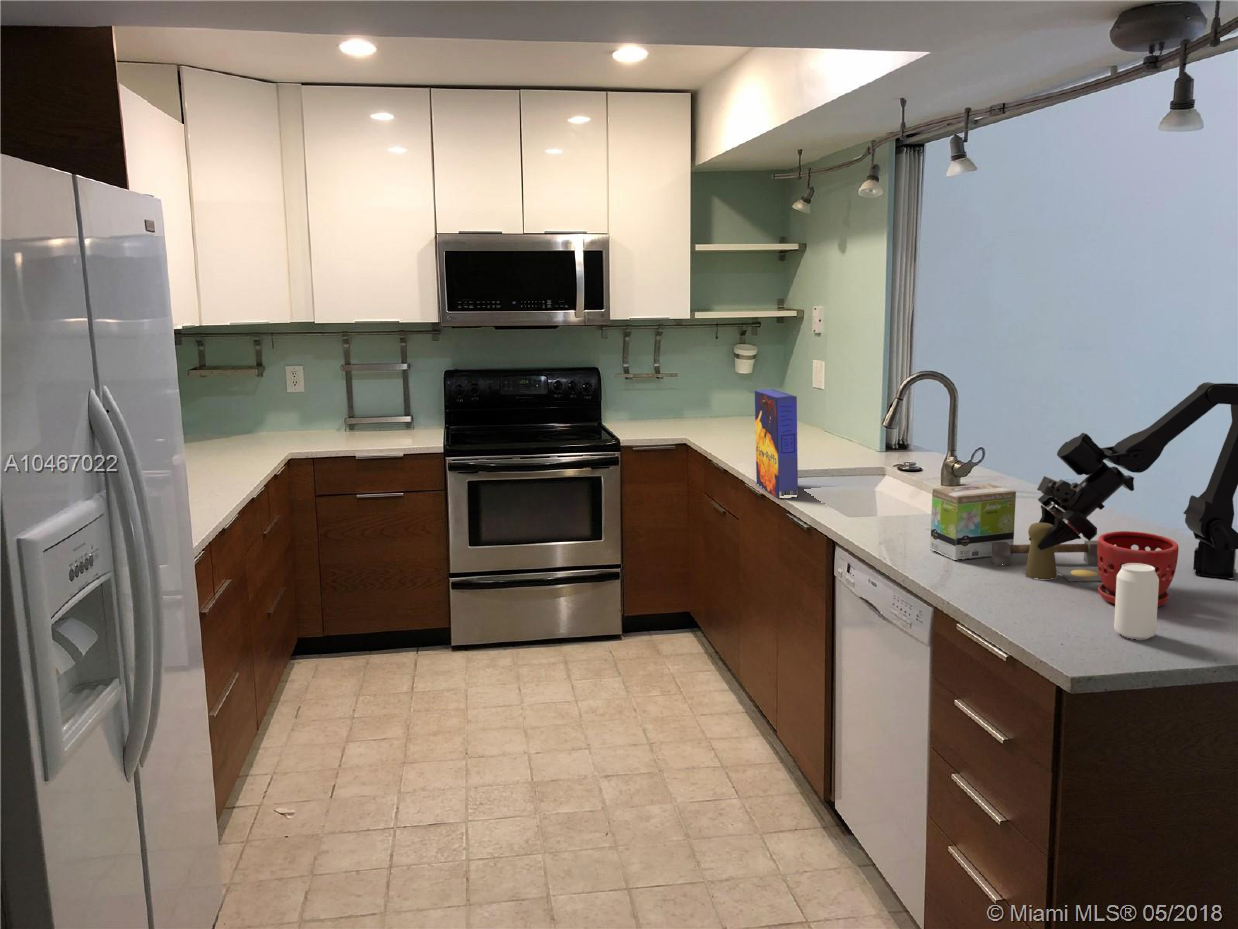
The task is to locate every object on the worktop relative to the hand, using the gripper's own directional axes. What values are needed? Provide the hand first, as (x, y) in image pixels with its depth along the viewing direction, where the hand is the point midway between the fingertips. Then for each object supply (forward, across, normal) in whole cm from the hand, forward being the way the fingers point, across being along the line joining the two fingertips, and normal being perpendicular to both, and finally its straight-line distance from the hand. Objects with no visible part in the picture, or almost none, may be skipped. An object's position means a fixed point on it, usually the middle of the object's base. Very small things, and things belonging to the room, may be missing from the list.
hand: (1034, 544), depth 192 cm
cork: (+4, 0, +6) cm, 7 cm away
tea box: (+10, -18, -1) cm, 21 cm away
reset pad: (-2, 0, +12) cm, 12 cm away
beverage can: (+1, +34, +9) cm, 35 cm away
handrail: (+1, -9, +8) cm, 12 cm away
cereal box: (+39, -88, -29) cm, 100 cm away
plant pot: (-4, +17, +14) cm, 22 cm away
